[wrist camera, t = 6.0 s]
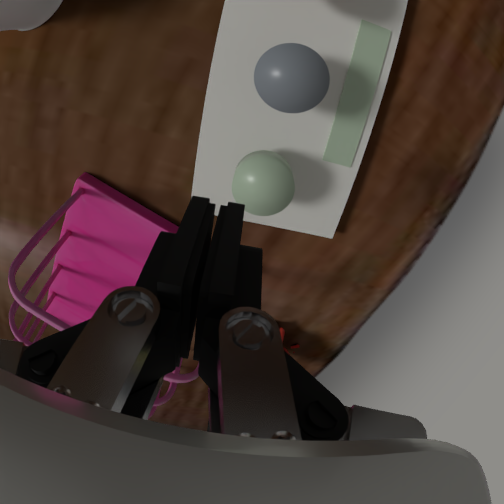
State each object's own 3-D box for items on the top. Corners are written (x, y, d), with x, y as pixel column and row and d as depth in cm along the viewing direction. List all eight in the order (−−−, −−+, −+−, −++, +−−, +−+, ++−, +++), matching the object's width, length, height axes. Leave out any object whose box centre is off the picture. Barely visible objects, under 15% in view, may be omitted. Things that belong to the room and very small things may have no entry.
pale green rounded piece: (241, 139, 23) (237, 153, 20) (297, 151, 23) (302, 166, 20) (231, 189, 25) (227, 209, 23) (284, 200, 26) (286, 221, 23)
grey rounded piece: (262, 39, 17) (262, 35, 14) (326, 54, 18) (337, 54, 15) (249, 97, 20) (247, 104, 17) (311, 111, 20) (319, 121, 17)
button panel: (248, -75, 13) (247, -83, 12) (407, -30, 14) (415, -34, 13) (193, 202, 28) (189, 211, 27) (329, 229, 29) (332, 239, 28)
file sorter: (233, 255, 32) (213, 396, 19) (147, 360, 44) (123, 451, 32) (85, 169, 26) (-19, 271, 14) (49, 307, 39) (4, 391, 26)
